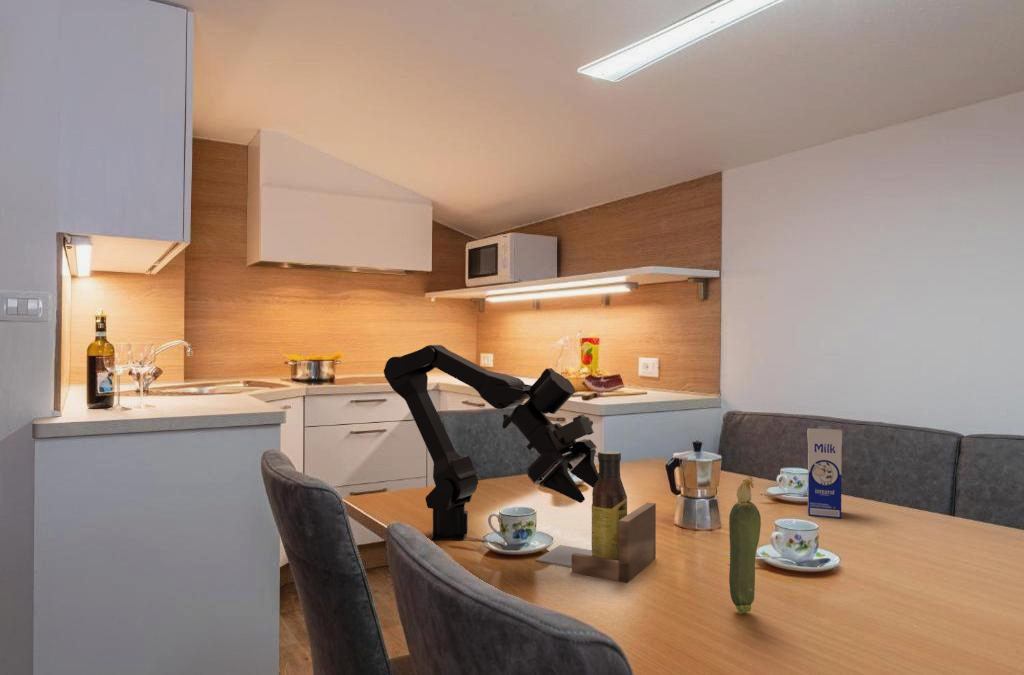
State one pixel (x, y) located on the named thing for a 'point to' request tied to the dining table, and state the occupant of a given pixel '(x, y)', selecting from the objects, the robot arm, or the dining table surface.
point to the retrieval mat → (562, 555)
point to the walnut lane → (625, 548)
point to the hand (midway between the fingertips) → (593, 495)
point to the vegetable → (743, 547)
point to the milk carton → (824, 471)
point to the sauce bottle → (608, 506)
